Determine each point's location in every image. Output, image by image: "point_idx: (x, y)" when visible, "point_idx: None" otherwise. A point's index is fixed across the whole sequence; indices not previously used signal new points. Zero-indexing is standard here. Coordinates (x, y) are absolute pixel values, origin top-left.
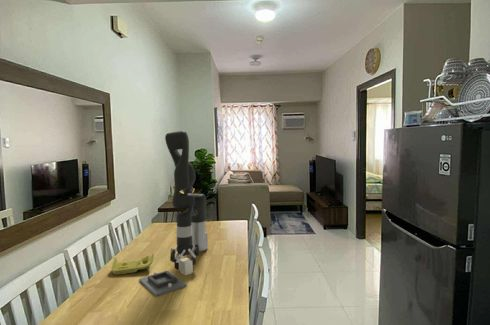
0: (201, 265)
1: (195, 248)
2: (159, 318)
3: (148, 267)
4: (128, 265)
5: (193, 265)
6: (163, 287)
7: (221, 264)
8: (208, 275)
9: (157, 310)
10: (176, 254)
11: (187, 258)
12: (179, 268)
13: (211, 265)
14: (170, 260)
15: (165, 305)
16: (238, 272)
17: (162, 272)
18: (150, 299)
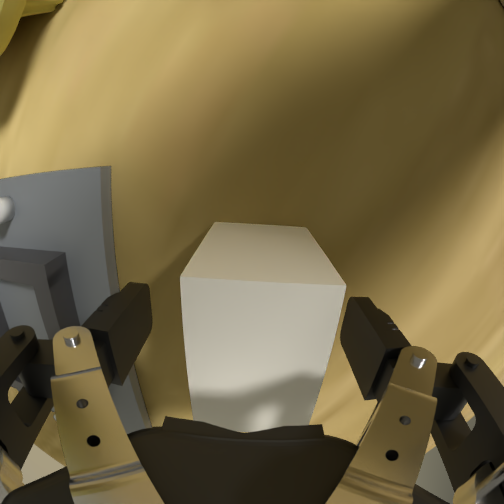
0: (441, 258)
1: (467, 481)
2: (50, 454)
3: (54, 2)
4: None
5: (341, 336)
6: None
7: (491, 335)
8: (333, 422)
9: (42, 437)
10: (53, 393)
11: (324, 338)
12: (209, 230)
13: (467, 311)
14: (11, 332)
15: (60, 441)
16: (429, 441)
17: (18, 273)
18: (13, 387)
